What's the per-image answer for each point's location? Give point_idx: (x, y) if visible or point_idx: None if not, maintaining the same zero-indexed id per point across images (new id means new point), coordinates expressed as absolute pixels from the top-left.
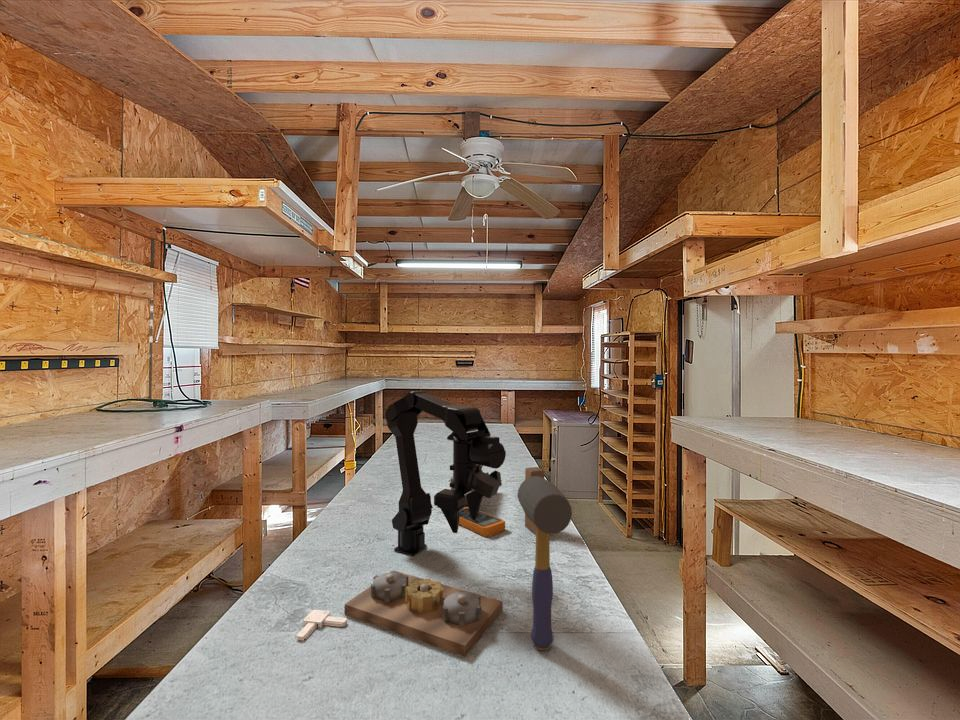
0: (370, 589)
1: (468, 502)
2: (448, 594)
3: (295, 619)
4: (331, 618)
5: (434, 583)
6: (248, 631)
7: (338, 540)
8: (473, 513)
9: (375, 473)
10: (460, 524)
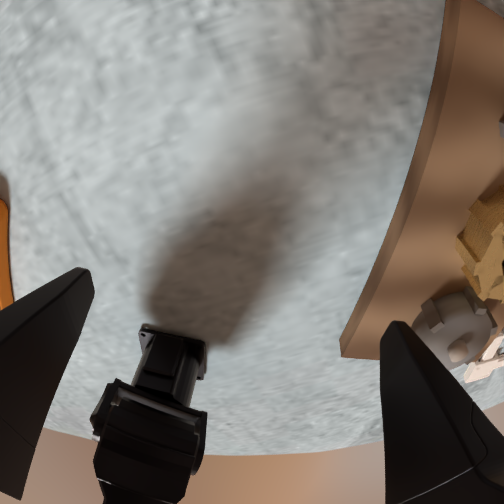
0: None
1: (43, 412)
2: (464, 180)
3: (469, 383)
4: (490, 354)
5: (501, 241)
6: (481, 399)
7: (214, 436)
8: (69, 318)
9: None
10: (10, 287)
